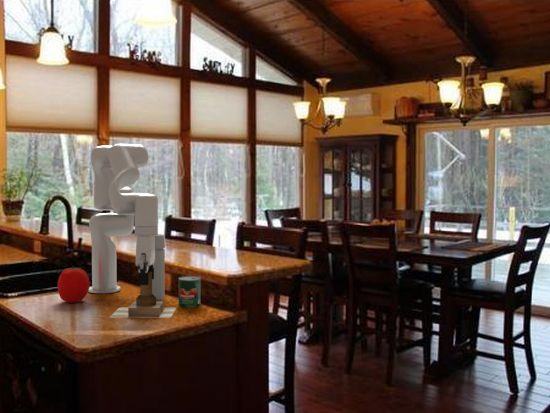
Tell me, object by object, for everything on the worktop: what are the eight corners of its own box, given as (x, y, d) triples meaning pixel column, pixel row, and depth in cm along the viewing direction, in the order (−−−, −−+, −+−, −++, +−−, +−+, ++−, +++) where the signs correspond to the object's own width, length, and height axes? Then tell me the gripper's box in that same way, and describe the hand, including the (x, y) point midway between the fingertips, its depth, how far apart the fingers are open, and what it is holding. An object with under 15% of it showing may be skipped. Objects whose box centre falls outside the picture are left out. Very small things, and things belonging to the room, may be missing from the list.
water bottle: (169, 300, 214) (169, 235, 212) (152, 304, 208) (152, 236, 206) (154, 296, 220) (154, 233, 218) (137, 300, 214) (137, 234, 212)
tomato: (49, 303, 207) (48, 267, 206) (74, 297, 218) (74, 263, 217) (72, 307, 202) (72, 270, 201) (97, 300, 213) (97, 265, 212)
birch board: (119, 310, 197) (119, 307, 197) (176, 310, 198) (176, 307, 198) (109, 321, 183) (109, 317, 183) (170, 321, 184) (170, 317, 184)
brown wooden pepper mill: (146, 307, 185) (146, 253, 184) (132, 305, 188) (131, 251, 187) (160, 303, 191) (160, 250, 190) (145, 301, 194) (145, 249, 193)
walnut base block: (134, 309, 195) (134, 300, 194) (163, 309, 195) (163, 301, 195) (128, 316, 185) (128, 307, 184) (158, 317, 185) (158, 307, 185)
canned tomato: (180, 311, 197) (181, 280, 196) (176, 306, 204) (176, 276, 204) (203, 309, 200) (203, 279, 199) (197, 305, 207) (197, 275, 207)
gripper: (140, 228, 197) (140, 277, 198) (129, 234, 179) (129, 287, 180) (162, 228, 197) (162, 277, 198) (152, 234, 180) (153, 287, 181)
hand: (146, 281), depth 189 cm, fingers open, 9 cm apart
